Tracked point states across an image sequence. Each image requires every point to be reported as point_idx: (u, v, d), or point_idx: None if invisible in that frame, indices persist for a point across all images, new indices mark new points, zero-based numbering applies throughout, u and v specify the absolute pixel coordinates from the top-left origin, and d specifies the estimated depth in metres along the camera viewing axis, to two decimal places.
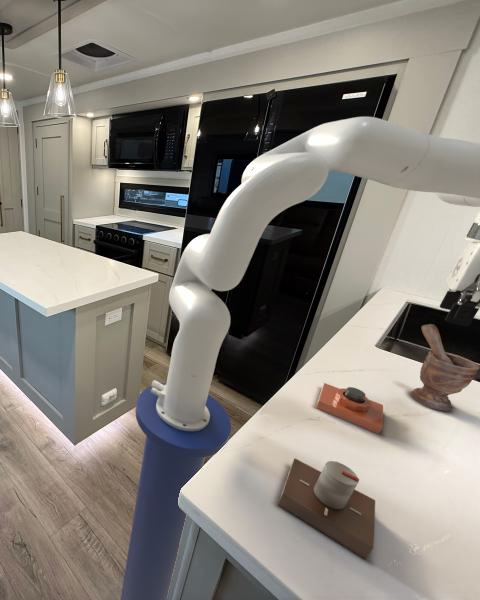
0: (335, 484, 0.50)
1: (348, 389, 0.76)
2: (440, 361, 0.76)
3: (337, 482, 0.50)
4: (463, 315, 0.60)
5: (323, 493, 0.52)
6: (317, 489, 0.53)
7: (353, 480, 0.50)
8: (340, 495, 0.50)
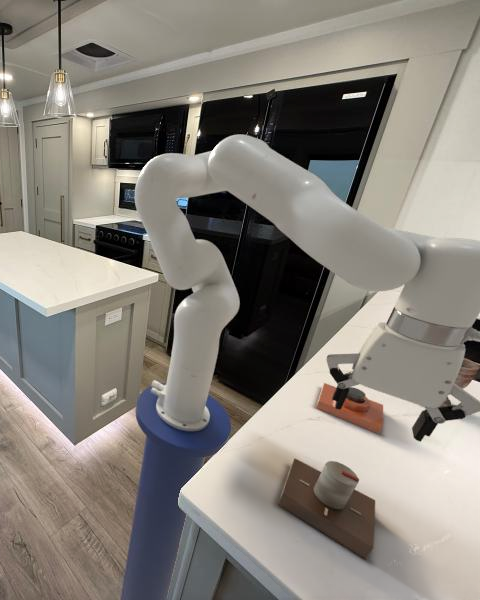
0: (335, 484, 0.50)
1: None
2: None
3: (337, 482, 0.50)
4: (335, 392, 0.53)
5: (323, 493, 0.52)
6: (317, 489, 0.53)
7: (353, 480, 0.50)
8: (340, 495, 0.50)
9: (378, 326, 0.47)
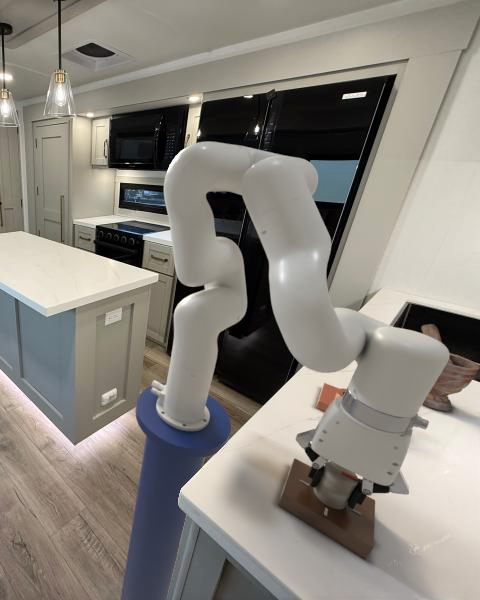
0: (335, 484, 0.50)
1: None
2: None
3: (337, 482, 0.50)
4: (310, 469, 0.54)
5: (323, 493, 0.52)
6: (317, 489, 0.53)
7: (353, 480, 0.50)
8: (340, 495, 0.50)
9: (334, 402, 0.49)
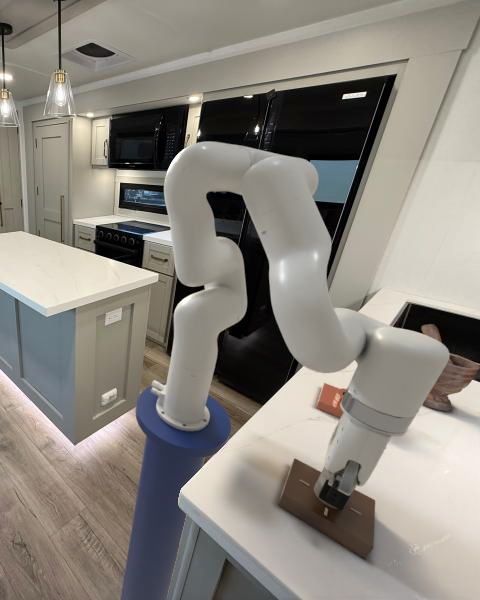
0: (355, 487, 0.50)
1: None
2: None
3: None
4: (334, 498, 0.49)
5: None
6: None
7: None
8: None
9: (369, 433, 0.43)
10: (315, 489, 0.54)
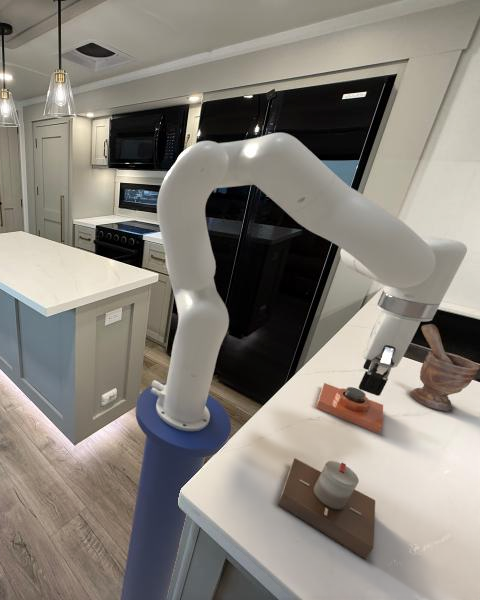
0: (355, 487, 0.50)
1: (348, 389, 0.76)
2: (440, 361, 0.76)
3: None
4: (373, 385, 0.59)
5: (345, 502, 0.51)
6: (339, 504, 0.51)
7: (346, 468, 0.52)
8: None
9: (402, 320, 0.55)
10: (315, 488, 0.54)
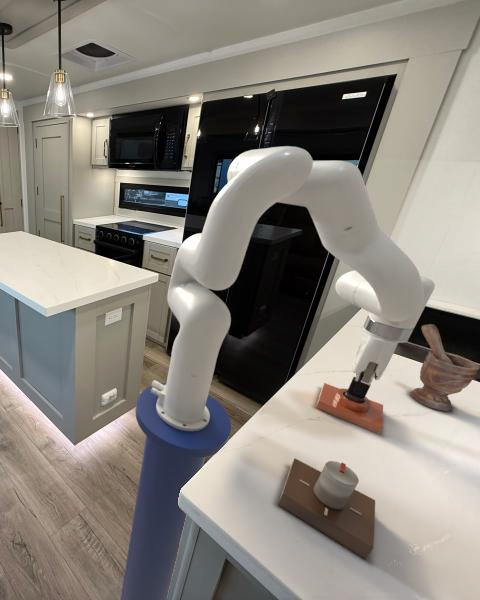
0: (355, 487, 0.50)
1: (347, 391, 0.76)
2: (440, 361, 0.76)
3: None
4: (359, 389, 0.74)
5: (345, 502, 0.51)
6: (339, 504, 0.51)
7: (346, 468, 0.52)
8: None
9: (383, 341, 0.66)
10: (315, 488, 0.54)
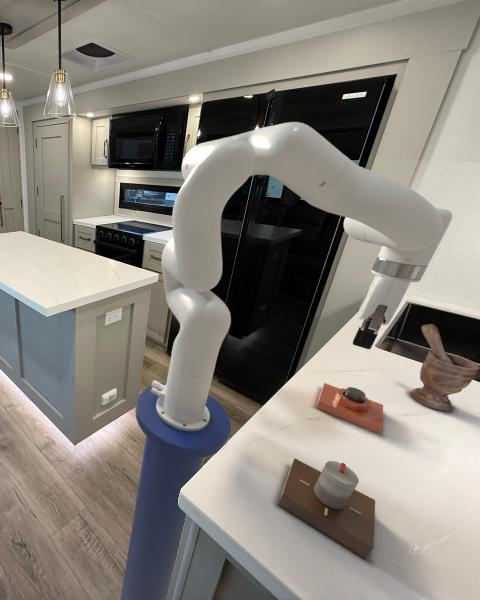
0: (355, 487, 0.50)
1: (348, 389, 0.76)
2: (440, 361, 0.76)
3: None
4: (365, 339, 0.69)
5: (345, 502, 0.51)
6: (339, 504, 0.51)
7: (346, 468, 0.52)
8: None
9: (394, 281, 0.61)
10: (315, 488, 0.54)
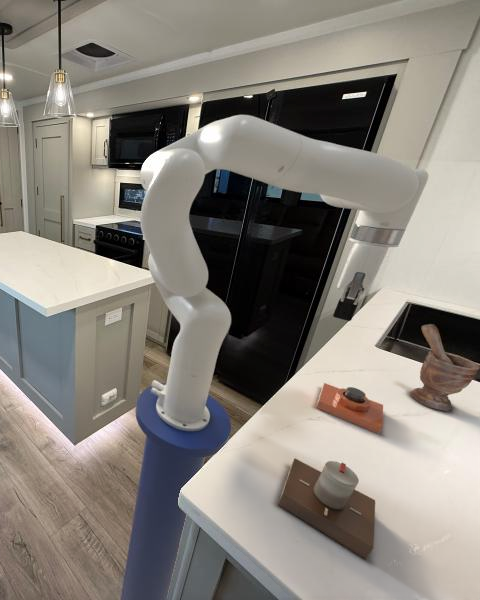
0: (355, 487, 0.50)
1: (348, 389, 0.76)
2: (440, 361, 0.76)
3: None
4: (345, 311, 0.67)
5: (345, 502, 0.51)
6: (339, 504, 0.51)
7: (346, 468, 0.52)
8: None
9: (371, 246, 0.59)
10: (315, 488, 0.54)
